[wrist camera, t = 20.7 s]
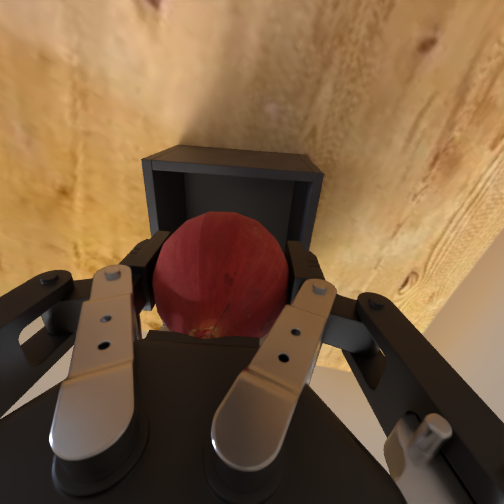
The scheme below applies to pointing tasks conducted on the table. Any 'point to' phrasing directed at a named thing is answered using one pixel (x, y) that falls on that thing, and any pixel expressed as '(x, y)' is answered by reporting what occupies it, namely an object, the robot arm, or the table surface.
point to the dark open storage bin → (233, 189)
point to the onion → (221, 277)
